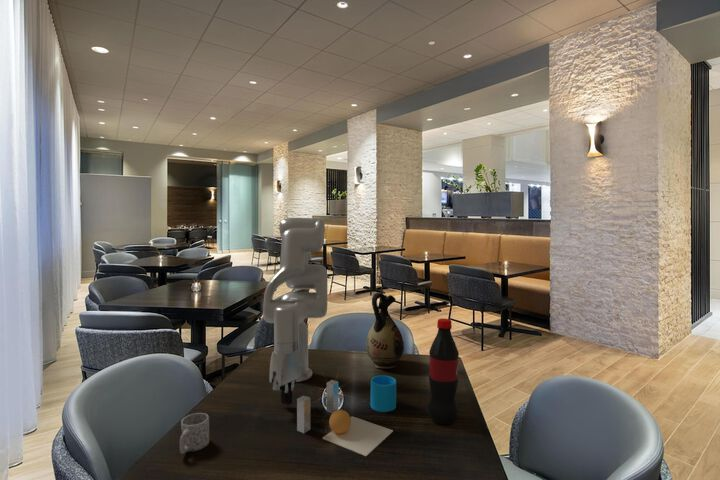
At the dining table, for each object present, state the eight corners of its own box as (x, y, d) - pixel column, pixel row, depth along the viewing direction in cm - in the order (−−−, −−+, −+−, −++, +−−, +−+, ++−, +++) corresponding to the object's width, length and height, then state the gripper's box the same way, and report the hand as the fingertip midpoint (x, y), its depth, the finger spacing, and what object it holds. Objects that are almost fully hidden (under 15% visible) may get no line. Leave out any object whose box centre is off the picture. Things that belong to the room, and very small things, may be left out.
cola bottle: (458, 415, 116) (460, 317, 115) (456, 429, 108) (458, 324, 107) (430, 410, 119) (432, 314, 118) (426, 423, 111) (427, 321, 110)
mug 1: (190, 436, 104) (190, 412, 103) (213, 437, 103) (213, 413, 103) (168, 458, 94) (167, 432, 94) (194, 460, 93) (193, 434, 93)
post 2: (326, 411, 118) (326, 382, 117) (331, 408, 120) (331, 379, 120) (333, 413, 116) (333, 384, 116) (338, 410, 119) (338, 381, 118)
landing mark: (322, 438, 103) (322, 437, 103) (351, 416, 115) (351, 416, 115) (366, 456, 95) (366, 455, 95) (393, 431, 107) (393, 430, 107)
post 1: (297, 430, 107) (297, 398, 106) (303, 426, 109) (303, 395, 109) (304, 433, 105) (304, 401, 105) (310, 429, 108) (310, 397, 107)
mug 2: (398, 411, 118) (398, 385, 118) (371, 412, 118) (371, 386, 117) (392, 394, 130) (392, 370, 130) (368, 394, 130) (368, 371, 129)
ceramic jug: (383, 355, 167) (383, 287, 166) (411, 365, 156) (412, 292, 155) (355, 365, 156) (355, 292, 154) (383, 376, 145) (384, 298, 143)
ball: (327, 411, 105) (342, 425, 101) (341, 401, 109) (357, 414, 106) (323, 428, 106) (338, 442, 103) (337, 418, 111) (352, 431, 108)
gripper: (294, 337, 127) (294, 391, 128) (259, 349, 115) (259, 409, 116) (311, 341, 123) (311, 397, 124) (277, 354, 111) (277, 416, 112)
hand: (286, 403), depth 120 cm, fingers closed
